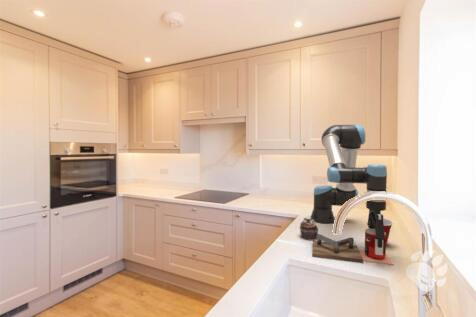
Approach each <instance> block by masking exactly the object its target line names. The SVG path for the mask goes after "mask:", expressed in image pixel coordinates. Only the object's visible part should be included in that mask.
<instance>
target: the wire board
mask: <svg viewBox="0 0 476 317" xmlns="http://www.w3.org/2000/svg"><path fill="white" fill-rule="evenodd" d="M354 241H355V240H354V237H348V238H344V239H340V240H337V241H336V240H334V239H331V238H329V237H326V236H325V235H323V234H321V233H320V234H319V233H318V234H317V239H316V240H312V257H314V258H320V259H328V260H336V261H344V262H352V263H357V264H358V263H360V264H364V261H363V258H362V256H361V254H360V251H359V250H360V249H359V247H358V245H356V244H354V243H355V242H354Z"/></svg>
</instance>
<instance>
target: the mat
mask: <svg viewBox="0 0 476 317" xmlns="http://www.w3.org/2000/svg"><path fill="white" fill-rule="evenodd" d="M359 251H360V254H361V256H362V258H363V262H367V263H375V264H382V265H389V266H390V265H392V266H394V263H393V261H392V260H391V259H390V256H388V254H387V253H385V259H382V260H377V259H372V258H370V257H368V256H366V255H365V249H359Z"/></svg>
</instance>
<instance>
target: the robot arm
mask: <svg viewBox="0 0 476 317" xmlns="http://www.w3.org/2000/svg"><path fill="white" fill-rule="evenodd" d="M365 143H366V131H365V128H364V126H363V125H361V124H333V125H331V126H329V127H327V128H326V129H325V130H324V131H323V133H322V135H321V144H322V146H323V148H325V153H326V158H327V161H328V164H329V167H327V171H326V178H327V181H328V182H329V183H335V184H336V185H335V187H333V186H332V185H328V184H325V185H319V186H315V187H314V189H313V210H312V212H311V215H310V219H311V218H312V219H313V220H314V221H315V222H314V223H318V222H319V224H333V223H335V222H334V220H336V219H335V216H334V212H333V206H337V207H340V206H341V207H343V206H342V205H343V204H344V203H345V202H346V201H348V200H349V199H351V198H353V197H355V196H357V195H358V196H359V192H358V189H357V187H356V186H355V184H363V185H364V184H366V192H370V191H385V192H386V193H387V182H388V178H387V176H388V169H387V165H385V164H368V165H366V166H363V167H357V166H356V165H357V164H356V163H357V158H358V157H357V156H358V150H360V149H361V147H362V145H364V144H365ZM365 207H366V209H368V218H367V223H366V224H367V229H373V228H375V233H376V237H375V238H374V239H375V255H383V240H385V233H384V223H383V218H384V215H383V214H382V213H381V212H383V211H386V210H387V202H386V200H370V201H367V202H365ZM331 222H332V223H331Z"/></svg>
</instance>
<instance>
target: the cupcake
mask: <svg viewBox="0 0 476 317" xmlns="http://www.w3.org/2000/svg"><path fill="white" fill-rule="evenodd" d="M299 229H300V236H301V238H302V239H304V240H308V241H316V240H317V234H319V228H318V226H317V224H316V222H314V220H313V219H312V218H311V217H310V218H306V217H305V218H303V221H302V222H300V226H299Z"/></svg>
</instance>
